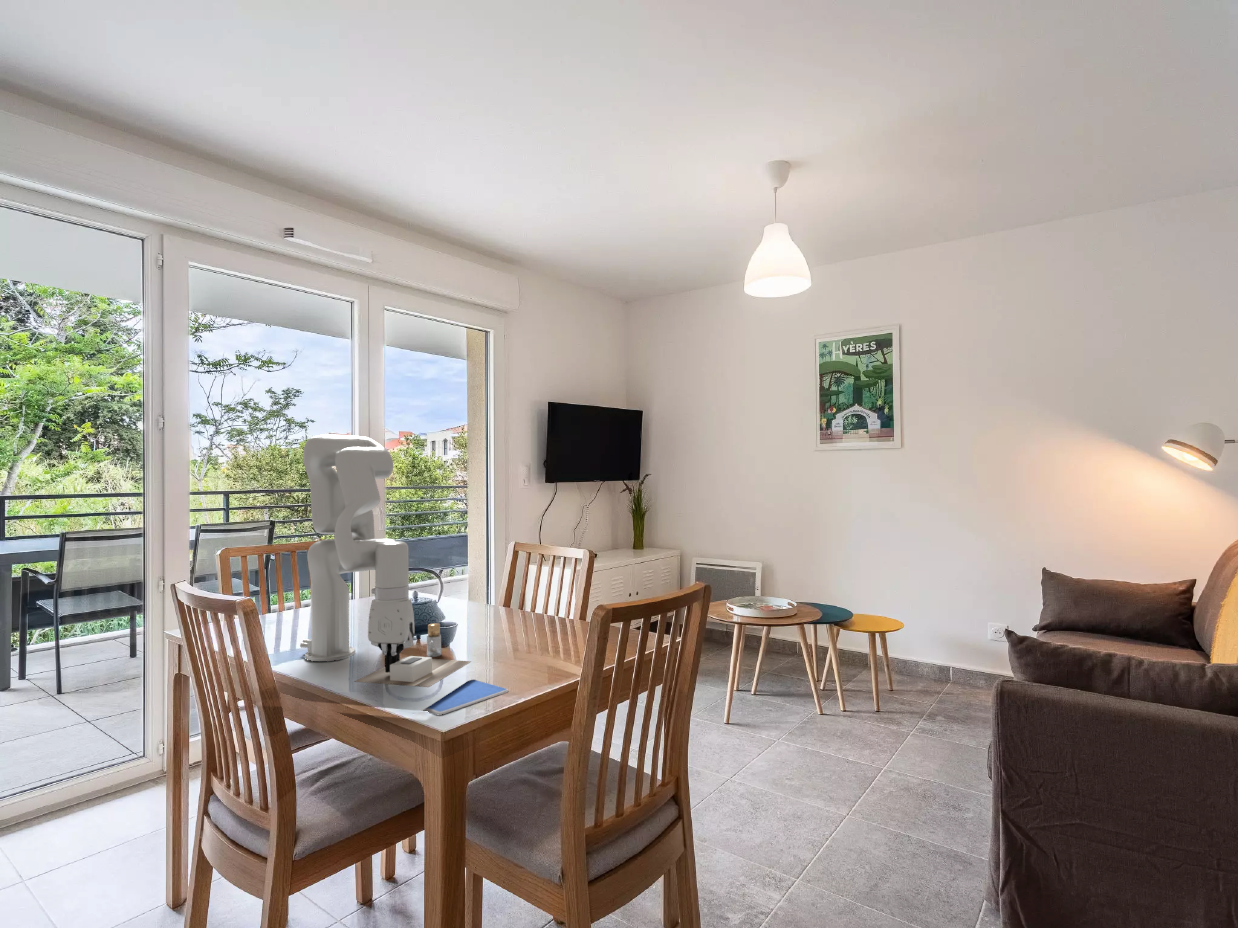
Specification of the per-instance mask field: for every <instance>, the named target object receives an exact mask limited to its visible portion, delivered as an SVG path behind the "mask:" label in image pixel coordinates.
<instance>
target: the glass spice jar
mask: <svg viewBox="0 0 1238 928" xmlns="http://www.w3.org/2000/svg"><path fill="white" fill-rule="evenodd" d="M441 655H442V634H441V624H440V623H438V622H435V623H430V624H428V625H427V636H426V657H432V658H435V657H440V656H441Z"/></svg>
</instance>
